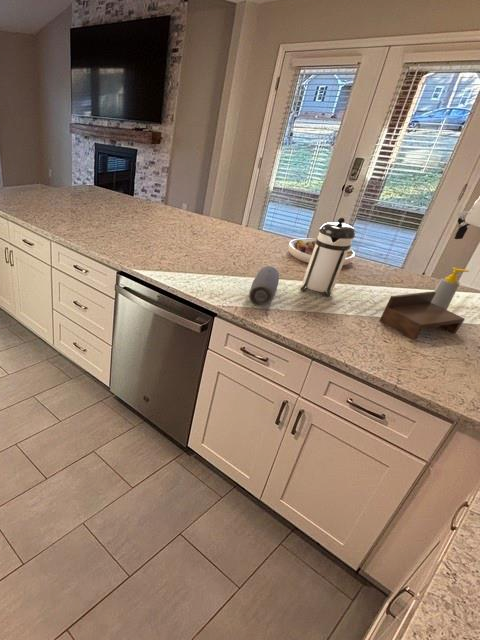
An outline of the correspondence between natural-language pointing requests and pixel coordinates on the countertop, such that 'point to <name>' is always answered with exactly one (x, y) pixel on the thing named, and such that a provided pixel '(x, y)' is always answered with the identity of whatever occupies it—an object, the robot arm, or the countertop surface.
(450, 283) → the soap bottle
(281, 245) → the countertop surface
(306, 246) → the bowl
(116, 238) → the countertop surface
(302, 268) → the countertop surface
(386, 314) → the shelf
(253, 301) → the bluetooth speaker
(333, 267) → the coffee press
